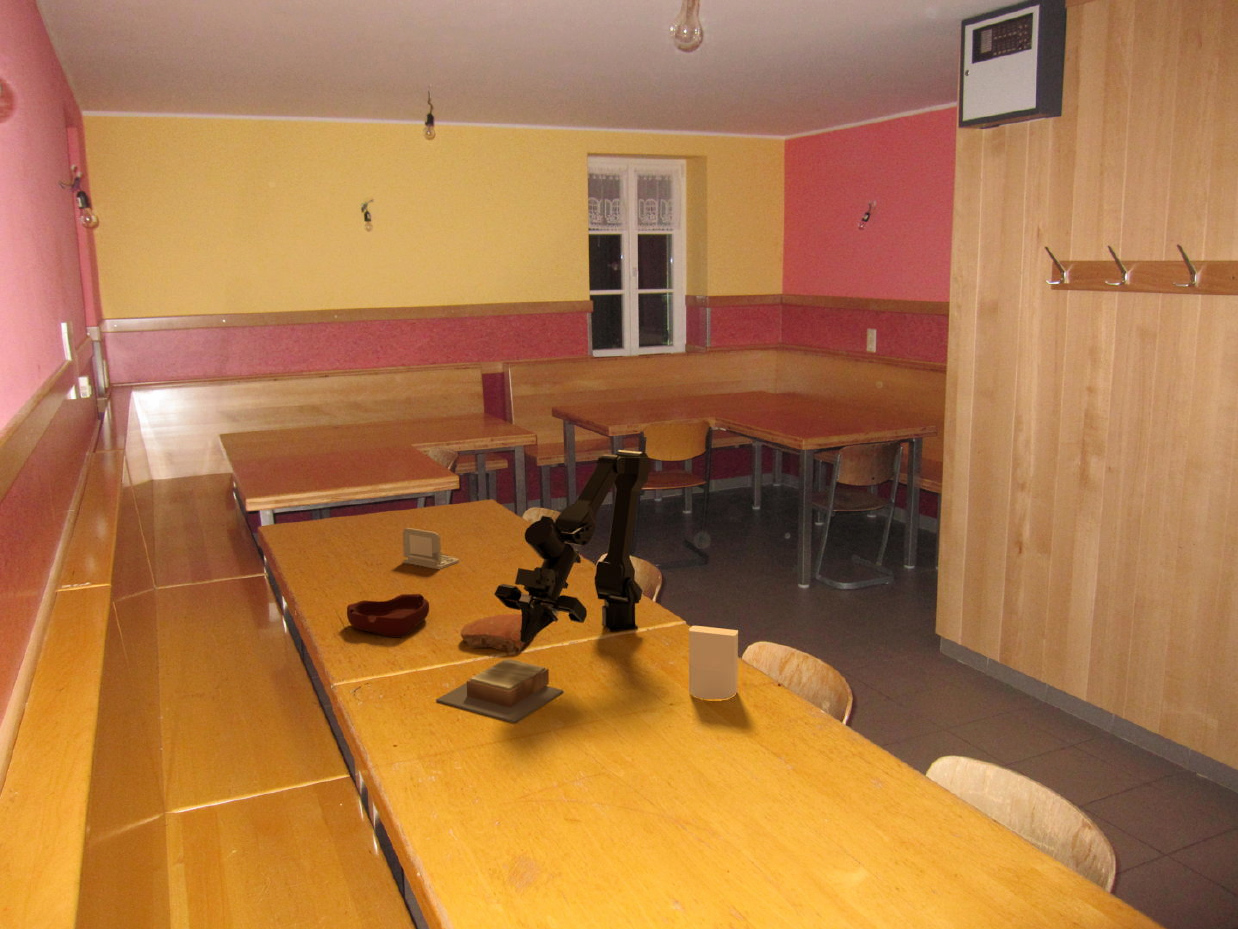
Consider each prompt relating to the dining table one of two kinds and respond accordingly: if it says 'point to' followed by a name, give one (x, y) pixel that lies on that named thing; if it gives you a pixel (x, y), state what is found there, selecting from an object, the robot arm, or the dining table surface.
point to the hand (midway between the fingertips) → (522, 642)
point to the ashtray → (389, 615)
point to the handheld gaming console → (424, 549)
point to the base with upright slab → (713, 662)
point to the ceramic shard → (495, 632)
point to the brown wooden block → (508, 682)
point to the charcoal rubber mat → (495, 710)
